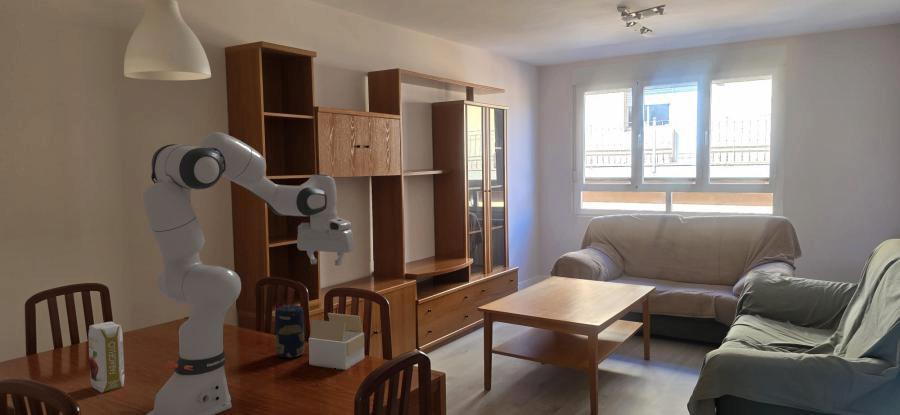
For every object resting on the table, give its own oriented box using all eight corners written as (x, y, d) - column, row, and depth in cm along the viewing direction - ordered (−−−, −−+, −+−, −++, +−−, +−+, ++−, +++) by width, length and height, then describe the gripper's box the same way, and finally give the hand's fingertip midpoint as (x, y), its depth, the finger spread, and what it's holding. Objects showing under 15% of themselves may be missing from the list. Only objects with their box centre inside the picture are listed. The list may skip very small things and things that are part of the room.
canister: (308, 351, 207) (307, 301, 205) (299, 360, 197) (297, 308, 196) (282, 350, 208) (281, 301, 206) (271, 359, 198) (270, 307, 197)
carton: (346, 370, 187) (346, 343, 187) (308, 364, 193) (307, 338, 192) (365, 358, 198) (365, 332, 198) (328, 353, 204) (327, 328, 203)
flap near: (313, 319, 193) (312, 319, 192) (345, 323, 188) (344, 323, 188) (310, 337, 191) (309, 337, 191) (343, 341, 187) (342, 341, 186)
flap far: (359, 316, 196) (359, 316, 196) (327, 313, 201) (328, 312, 201) (362, 331, 198) (362, 331, 199) (331, 328, 203) (331, 327, 203)
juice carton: (115, 380, 179) (112, 319, 178) (127, 386, 174) (124, 324, 173) (88, 387, 174) (85, 325, 172) (99, 394, 168) (96, 330, 167)
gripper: (292, 223, 192) (294, 264, 193) (345, 225, 185) (347, 268, 186) (303, 221, 198) (305, 261, 199) (355, 222, 190) (357, 264, 192)
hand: (325, 264), depth 192 cm, fingers open, 8 cm apart
